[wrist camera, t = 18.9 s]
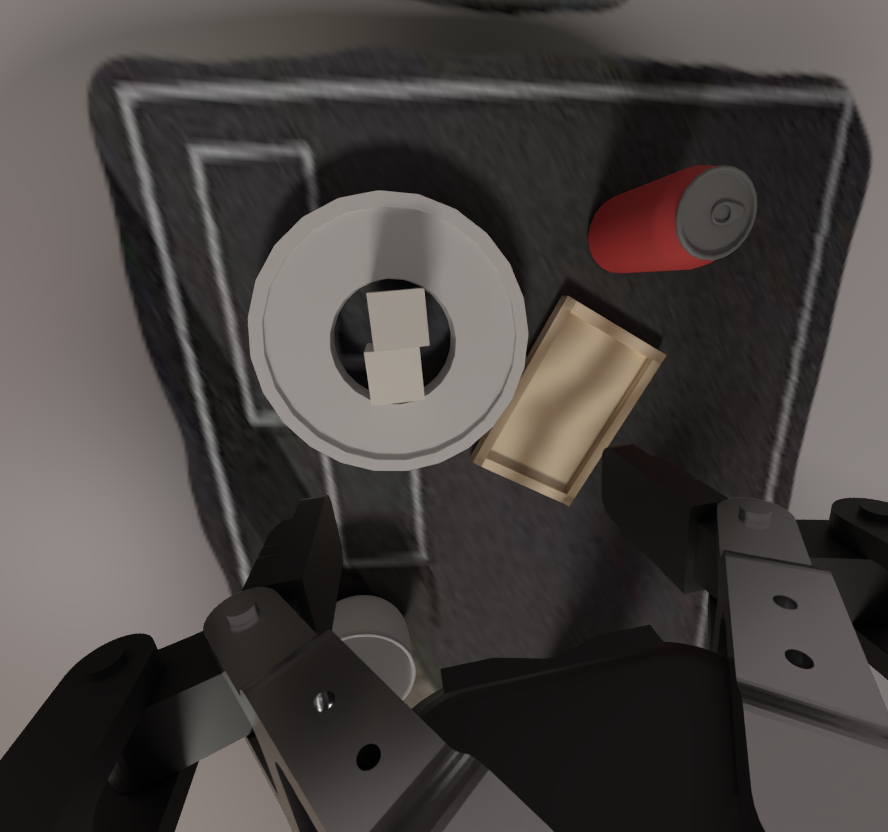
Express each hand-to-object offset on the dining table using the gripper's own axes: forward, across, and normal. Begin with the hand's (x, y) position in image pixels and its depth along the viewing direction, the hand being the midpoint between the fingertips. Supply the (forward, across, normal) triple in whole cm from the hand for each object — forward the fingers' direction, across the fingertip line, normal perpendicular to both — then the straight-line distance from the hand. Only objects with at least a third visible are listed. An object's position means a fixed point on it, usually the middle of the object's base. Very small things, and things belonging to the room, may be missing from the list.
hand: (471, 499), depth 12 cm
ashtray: (+29, +2, -1) cm, 29 cm away
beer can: (+28, -20, -8) cm, 36 cm away
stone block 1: (+25, +1, -4) cm, 25 cm away
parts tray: (+28, -14, +8) cm, 32 cm away
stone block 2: (+25, +2, 0) cm, 25 cm away
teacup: (+28, +10, +31) cm, 43 cm away
